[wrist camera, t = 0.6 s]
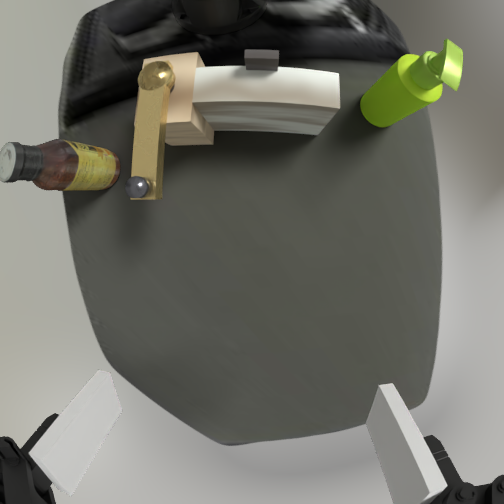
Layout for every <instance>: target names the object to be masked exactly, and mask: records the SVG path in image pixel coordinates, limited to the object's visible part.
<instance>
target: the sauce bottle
mask: <svg viewBox="0 0 504 504" xmlns="http://www.w3.org/2000/svg"><path fill="white" fill-rule="evenodd" d="M119 173H120V162H119V159H118V157H117V156H116V154H114V153H113V152H111V151H109V150H107V149H104V148H100V147H95V146H91V145H86V144H82V143H78V142H72V141H67V140H62V139H55V140H52V141H49V142H46V143H43V144H40V145H37V146H27V145H21V144H20V143H18V142H8V143H6V144H5V145H4V146H3V148H2V150H1V152H0V181H2V182H15V181H17V180H26V181H33V183H34V184H35V185H36V186H38V187H39V188H41V189H44V190H58V191H68V190H101V189H107V188H109V187H111V186H112V185H113V184H114V183H115V182H116V180H117V179H118V176H119Z"/></svg>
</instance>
